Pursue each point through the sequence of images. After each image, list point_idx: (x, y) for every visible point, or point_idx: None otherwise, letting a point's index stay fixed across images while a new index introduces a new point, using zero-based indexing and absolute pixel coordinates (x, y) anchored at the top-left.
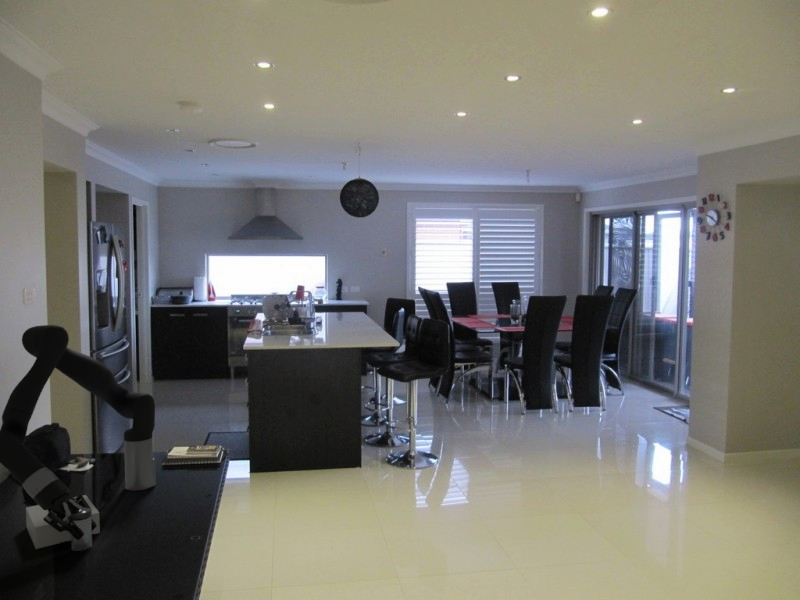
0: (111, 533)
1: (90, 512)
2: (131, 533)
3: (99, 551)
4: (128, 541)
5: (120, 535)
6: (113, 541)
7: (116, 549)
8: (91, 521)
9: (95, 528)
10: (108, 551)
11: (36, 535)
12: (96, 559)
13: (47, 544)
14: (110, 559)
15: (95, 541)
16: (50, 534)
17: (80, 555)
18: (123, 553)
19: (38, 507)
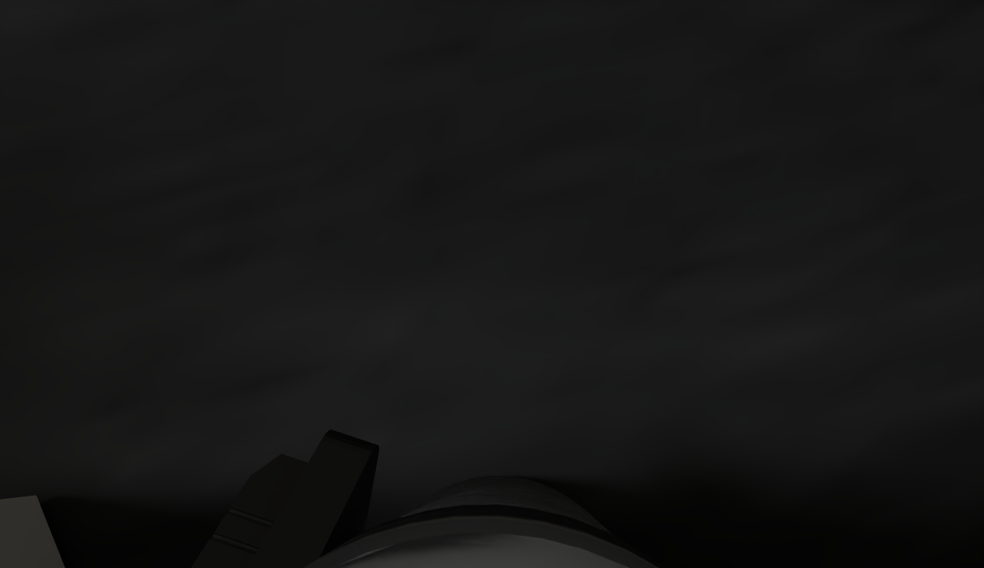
0: (83, 330)
1: (531, 519)
2: (164, 68)
3: (647, 334)
4: (412, 48)
5: (189, 192)
6: (365, 234)
7: (627, 135)
8: (321, 537)
9: (6, 559)
10: (669, 218)
11: None
12: (885, 306)
13: None
14: (907, 134)
15: None
16: None
17: (730, 559)
18: (760, 25)
19: None
